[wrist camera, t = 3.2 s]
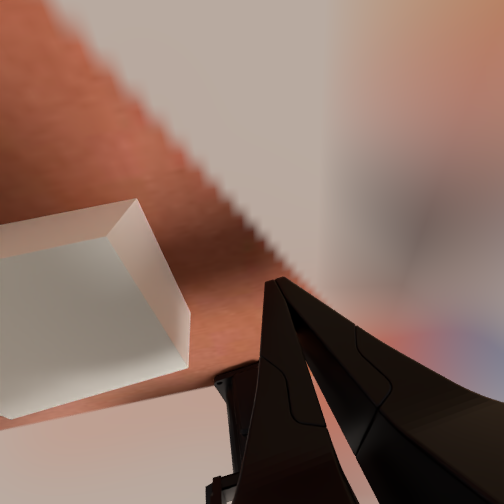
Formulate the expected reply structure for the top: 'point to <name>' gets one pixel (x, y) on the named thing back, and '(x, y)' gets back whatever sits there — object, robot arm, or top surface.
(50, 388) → the carton
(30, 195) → the top surface
